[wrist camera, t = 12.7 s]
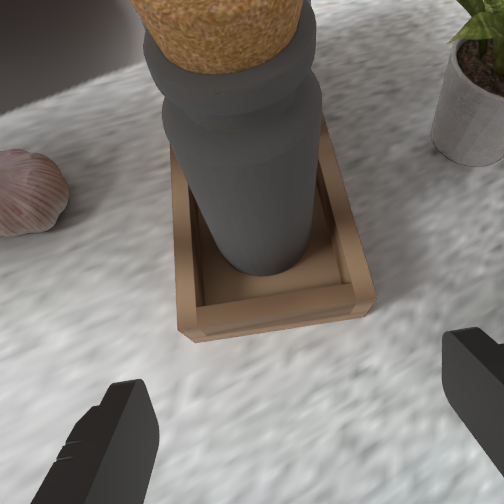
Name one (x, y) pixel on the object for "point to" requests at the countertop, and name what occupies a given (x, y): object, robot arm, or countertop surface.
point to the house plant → (474, 89)
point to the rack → (276, 286)
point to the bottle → (241, 119)
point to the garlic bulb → (29, 193)
